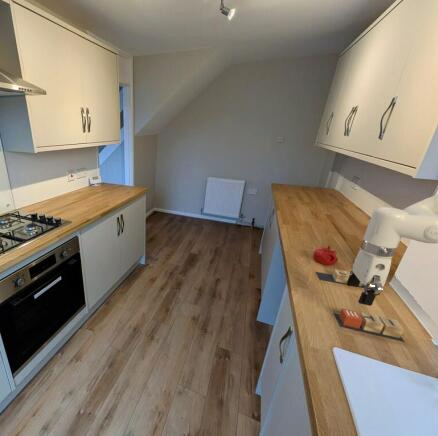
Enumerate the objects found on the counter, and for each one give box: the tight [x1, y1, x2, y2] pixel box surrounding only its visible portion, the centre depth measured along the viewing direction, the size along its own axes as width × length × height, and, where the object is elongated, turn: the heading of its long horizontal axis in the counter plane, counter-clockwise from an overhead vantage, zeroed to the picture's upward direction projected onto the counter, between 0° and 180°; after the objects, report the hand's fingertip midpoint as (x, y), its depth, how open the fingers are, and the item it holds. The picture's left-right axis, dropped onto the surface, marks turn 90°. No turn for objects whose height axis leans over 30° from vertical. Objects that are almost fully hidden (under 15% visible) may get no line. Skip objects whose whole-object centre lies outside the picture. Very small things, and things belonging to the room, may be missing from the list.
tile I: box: [378, 315, 405, 338], centre depth 77 cm, size 4×4×4 cm
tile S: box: [338, 307, 363, 329], centre depth 81 cm, size 4×4×4 cm
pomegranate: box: [312, 245, 339, 267], centre depth 118 cm, size 10×10×9 cm
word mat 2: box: [332, 312, 406, 343], centre depth 80 cm, size 17×7×1 cm, turn 69°
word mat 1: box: [315, 271, 373, 290], centre depth 104 cm, size 21×7×1 cm, turn 69°
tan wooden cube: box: [359, 311, 384, 333], centre depth 79 cm, size 4×4×4 cm
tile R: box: [331, 268, 349, 283], centre depth 104 cm, size 4×4×4 cm
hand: (357, 294), depth 77 cm, fingers open, 9 cm apart
